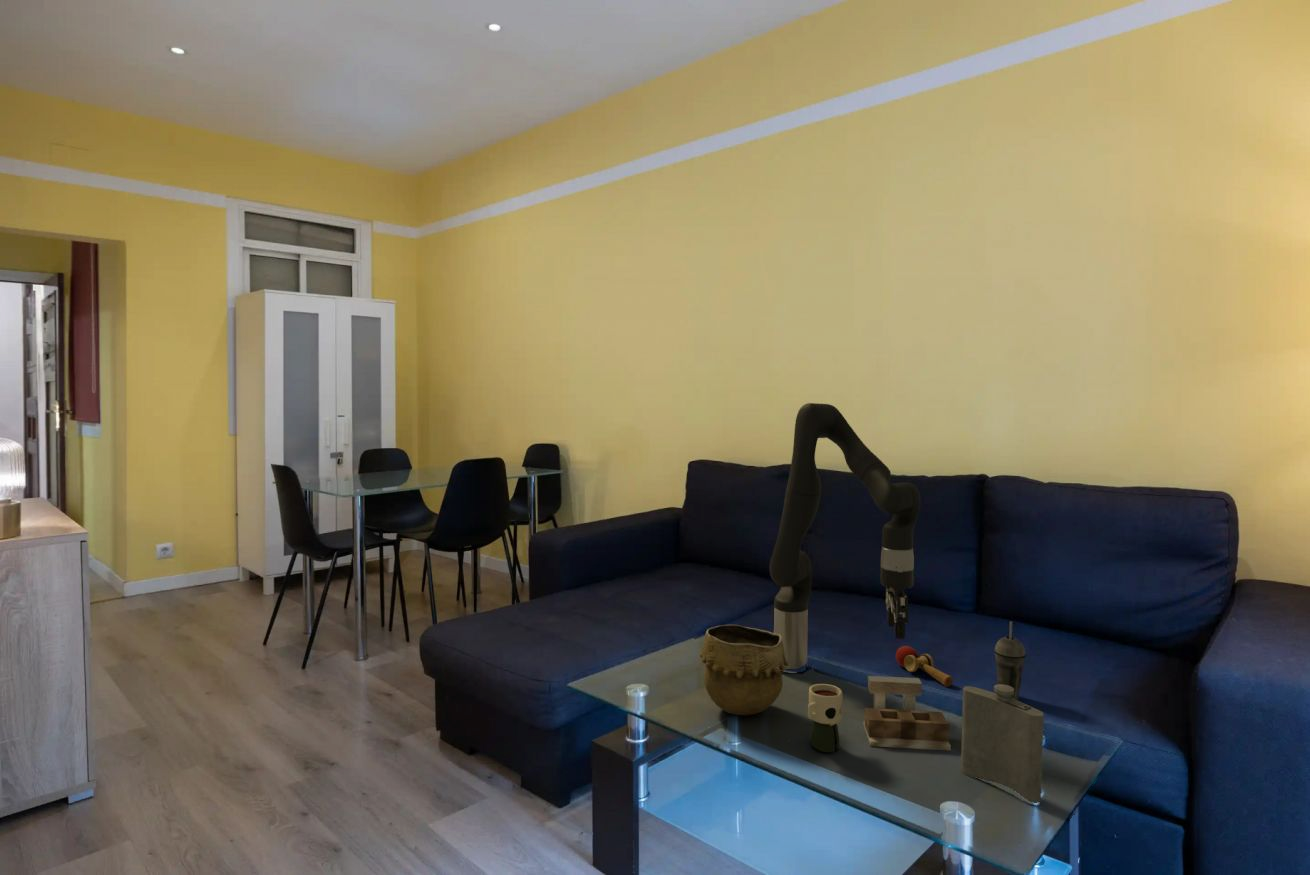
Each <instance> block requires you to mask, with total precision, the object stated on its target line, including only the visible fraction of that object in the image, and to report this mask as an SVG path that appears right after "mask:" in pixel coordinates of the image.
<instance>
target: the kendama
mask: <svg viewBox="0 0 1310 875" xmlns="http://www.w3.org/2000/svg"><path fill="white" fill-rule="evenodd" d="M896 650H897V651H896V653H895V661H896V662H897V664H898V665H899V666H900V667H902V668H904V669H906V671H908V672H911V673H915V672H916V671H917V670H918V669H920V670H921V671H922V672H925V673H927V674H928V675H929V676H931V677H932V678H933V679H935V680H936V681H938V682H939V683H941V684H942V685H943V686H945V687H950V686H952V684H953V681H954V678H953V677H952V676H951V675H949V674H947V673H944V672H943V671H941V670H939V669H938V668H935V664H934V659H933V657H932V656H931V655H930V654H928V653H922V654H920V655H919V654H918V652H917V651H916V650H915V649H914V648H913V647H911V646H909V645H903V646H900V647H899V648H898V649H896Z"/></svg>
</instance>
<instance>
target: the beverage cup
mask: <svg viewBox="0 0 1310 875" xmlns="http://www.w3.org/2000/svg"><path fill="white" fill-rule="evenodd" d="M1012 634H1013V621H1010V620H1009V636H1004V637H1001V638H1000V639H999V640H998V641H997V642H996V644H995V647H994V650H993V652H994V657H995V663H996V677H997V678H996V681H997V684H1003V685H1008V686H1010V687H1012V688H1014V694H1013V698H1014V699H1016V700H1018V701H1019V696H1020V693H1021V684H1022V675H1023V669H1024V668H1023V667H1024V664H1025V661H1026V660H1025V659H1026V657H1027V654H1026V649H1025V647H1024V645H1023V643H1022V641H1020V640H1019V639H1017V638H1016V637H1013V635H1012Z"/></svg>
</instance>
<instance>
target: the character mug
mask: <svg viewBox="0 0 1310 875" xmlns="http://www.w3.org/2000/svg"><path fill="white" fill-rule="evenodd" d="M842 705H843V690H842V689H841V688H839V687H838V686H835V685H834V684H833V685H832V684H829V683H828V684H827V683H816V684H813V685H810V686H809V689H808V705H807V717H808V719H810V720H812V721H813V723H812V727H811V733H810V741H809V742H810V745H811V747H813V748H815V749H816V750H818V751H820V752H822V753H834V752H836V751H835V750H836V748H835V747H837V750H839V749H840V746H841V745H840V734H839V729H838V728H839V726H838V723H840V722H841V721H842V717H843V706H842Z"/></svg>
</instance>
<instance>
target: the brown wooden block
mask: <svg viewBox="0 0 1310 875" xmlns="http://www.w3.org/2000/svg"><path fill="white" fill-rule="evenodd" d="M862 722H863V728H864V731H865V735H866V736H867V740H868V743H869V746H870V747H882V748H883V747H884V748H885V747H886V748H901V749H916V750H919V749H920V750H935V751H936V750H937V751H949V752H951V751H952V746H951V744H950V742H949V736H950V735H949V731H950V730H949V729H950V726H949V725H950V724H949V722H948V720H947V719H946V717H945V715H944V713H943V711H933V710H915V711H914V710H903V709H892V708H891V709H889V708H885V709H875V708H872V707H864V720H863V721H862Z"/></svg>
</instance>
